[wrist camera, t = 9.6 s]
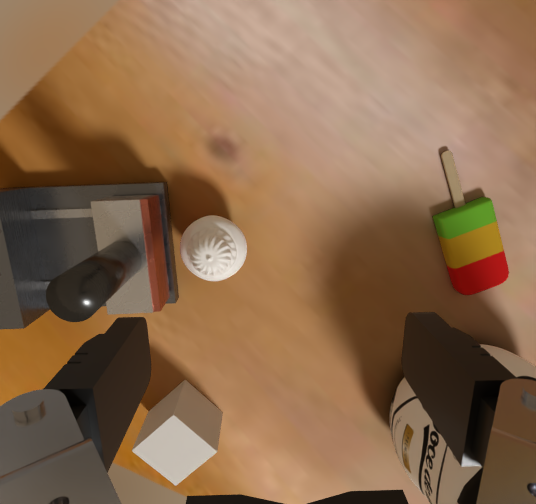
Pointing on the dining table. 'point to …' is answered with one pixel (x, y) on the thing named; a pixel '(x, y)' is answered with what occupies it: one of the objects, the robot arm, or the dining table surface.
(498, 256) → the popsicle
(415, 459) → the milk container
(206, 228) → the white rounded ridged piece
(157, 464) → the white cube
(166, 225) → the jaw track
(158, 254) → the sliding jaw
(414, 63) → the dining table surface
